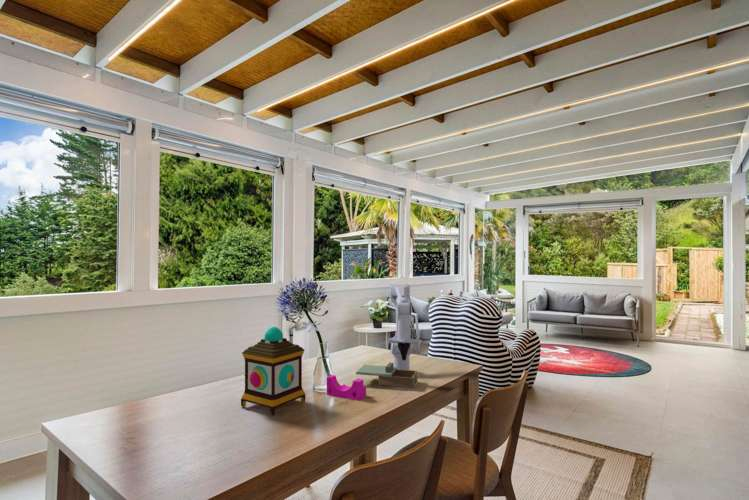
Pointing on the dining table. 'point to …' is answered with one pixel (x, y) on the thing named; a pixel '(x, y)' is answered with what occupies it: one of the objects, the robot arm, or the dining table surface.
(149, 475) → the dining table surface
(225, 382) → the dining table surface
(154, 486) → the dining table surface
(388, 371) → the lid
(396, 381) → the brown wooden tray
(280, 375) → the decorative lantern
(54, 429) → the dining table surface
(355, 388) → the toy block
